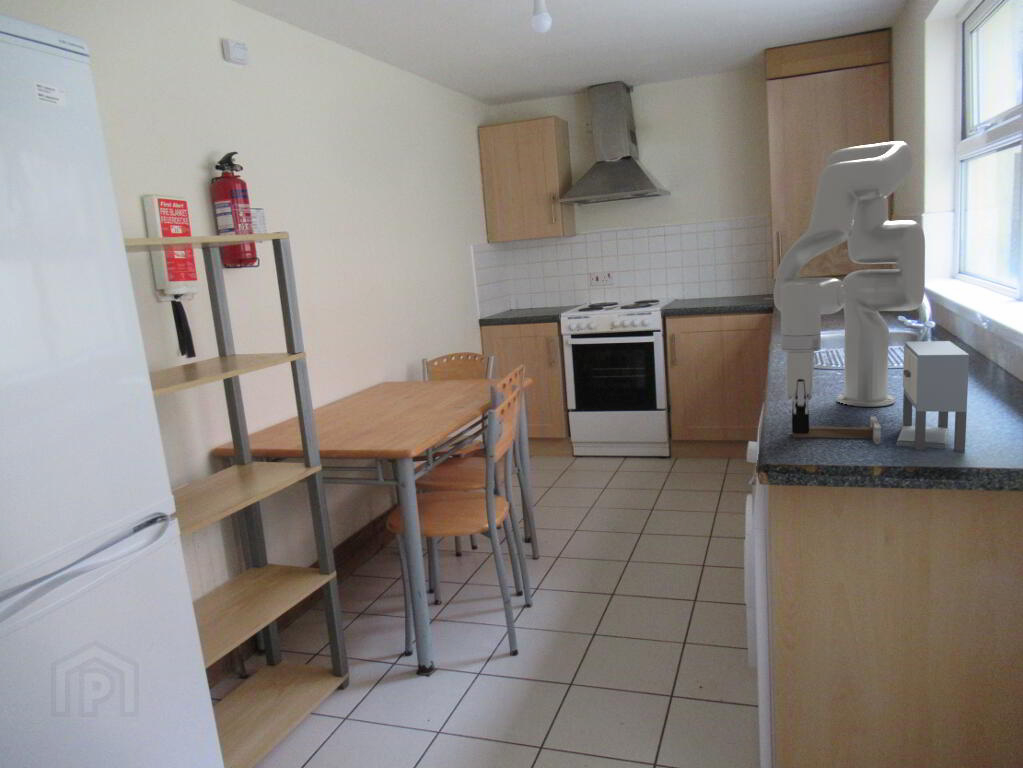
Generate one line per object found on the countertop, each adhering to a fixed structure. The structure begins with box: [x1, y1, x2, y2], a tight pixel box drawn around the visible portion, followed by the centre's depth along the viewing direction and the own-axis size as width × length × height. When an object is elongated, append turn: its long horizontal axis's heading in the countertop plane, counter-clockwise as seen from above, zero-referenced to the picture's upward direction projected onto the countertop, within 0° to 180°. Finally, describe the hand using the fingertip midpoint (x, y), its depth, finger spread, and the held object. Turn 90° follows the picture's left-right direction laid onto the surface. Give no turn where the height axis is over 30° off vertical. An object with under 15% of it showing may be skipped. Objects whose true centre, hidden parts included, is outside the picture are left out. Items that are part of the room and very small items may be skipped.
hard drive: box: [896, 425, 949, 449], centre depth 147 cm, size 2×8×12 cm
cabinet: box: [902, 340, 970, 453], centre depth 145 cm, size 18×9×18 cm, turn 160°
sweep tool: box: [792, 402, 882, 445], centre depth 152 cm, size 10×16×7 cm, turn 70°
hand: (800, 430), depth 155 cm, fingers closed on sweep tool, 3 cm apart
